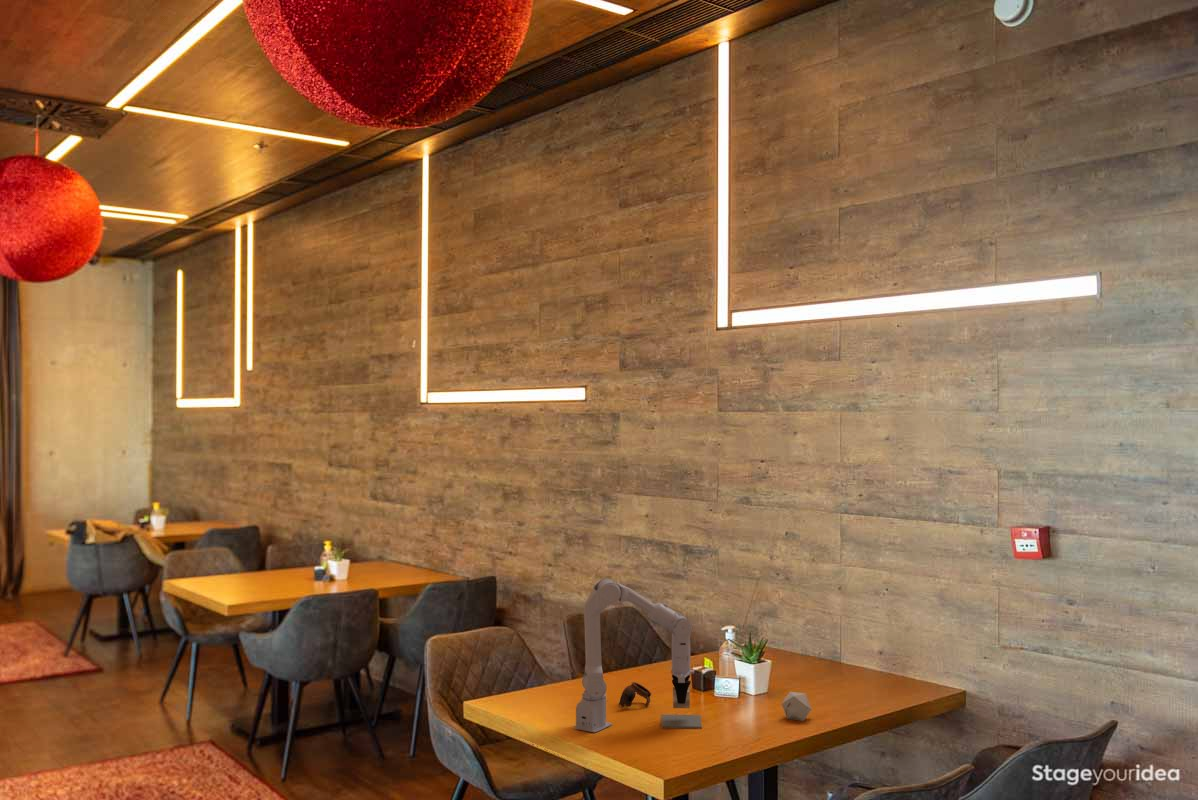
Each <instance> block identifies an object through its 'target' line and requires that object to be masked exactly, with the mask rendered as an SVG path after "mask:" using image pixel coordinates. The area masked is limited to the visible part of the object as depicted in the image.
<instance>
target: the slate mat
mask: <svg viewBox="0 0 1198 800" xmlns="http://www.w3.org/2000/svg"><path fill="white" fill-rule="evenodd" d="M702 728H703V726H702V718H701V715H700V714H661V729H687V730H688V729H690V730H691V729H694V730H695V729H698V730H699V729H701V730H702Z"/></svg>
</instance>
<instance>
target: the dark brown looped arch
mask: <svg viewBox="0 0 1198 800" xmlns="http://www.w3.org/2000/svg"><path fill="white" fill-rule="evenodd" d="M636 695H638V696H640V697H642V698H644V699H645V700H646V703H645V707H646V708H648V707H649V706H650V703H651V695H652V692H651V691H650V690H649V689H647V688H646V686H643V685H642V684H640V683H638V682H635V681H633V682H631V684H630V685H627V686H626V687H624V689H623V690H622V693H621V695H620V699H619V702H618V703H619V706H620V707H621V708H624V707H631V706H632V704H633V701H634V699H635V698H636Z"/></svg>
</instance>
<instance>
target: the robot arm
mask: <svg viewBox="0 0 1198 800" xmlns="http://www.w3.org/2000/svg"><path fill="white" fill-rule="evenodd" d="M618 601H619V602H620V603H623V602H625V603H626V602H629V603H631V604H632V605H635V606H636V607H638V608H640V609H642V610H643V611H645V612H646V613H648V614H649V619H650V620H652V621H653V622H654V623H657V624H658V625H660V626H662V627H663V628H664V629H666V630H670V631H671V670H670V673H671V678H672V680H671V682H672V685H673V687H675V691H676V696H677V701H678V704H685V701H686V695H687V690H688V687H689V688H690V685H691V680H690V677H691V675H692V674H695V670H694V669H691V636H690V635H691V634H692V633H693V629H694V628H693V627H692V623H691V621H690V620H689V619H687V618H686V617H685V616H683V614H681V613H680V612H679V611H675V610H673V609H672V608H670V607H668V606H669V605H668V604H667V603H665V602H663V603H662V602H658V603H653V602H651V601H650V600H648V599H647V598H646V597H644V596H642V595H641V594H639V593H637V592H636V591H634V590H633V589H632V588H630V587H628V586H626V585H624V584H621V583H619V582H615V581H614V580H612V579H611V578H602V579H601V580H599V581H597V583H595V585H593V588H592V590H591V592H590V594H589V595H588V598H587V599H586V601H585V603H584V605H583V618H584V619H583V621H584V623H583V624H584V649H585V651H584V652H585V665H584V675H583V676H582V679H581V684H582V687H583V689H584V691H583V693H582V694H581V695H582V696H581V700H580V701H579V702H578V703H577V704H576V707H575V726H573V729H575V730H579V731H585V732H590V733H598V732H600V731H603V730H604V729H606V728H608V727H610V726H612V725H613V723H612V722H607V694H606V693H607V684H606V682H605V680H604V672H603V667H602V665H603V664H602V639H601V613H602V612H603V611H604V610H605V609H606V608H608V607H609V606H611V605H613V604H616V603H618Z"/></svg>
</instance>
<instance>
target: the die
mask: <svg viewBox="0 0 1198 800" xmlns="http://www.w3.org/2000/svg"><path fill="white" fill-rule="evenodd" d="M781 706H782V709H783V711H784V714H785V717H786V719H787V720H791V721H792V720H793V721H798V722H799V721H800V722H804V721H805V720H806V719H807V716H808V715H809V714H810V712H811V711H812V710H813V708H812V707H811V704H810V702H809V699H808V696H807V693H803V692H795V691H794V692H793V691H789V692H788V694H787V695H786V696H785V698H784V699H783V701H782V702H781Z"/></svg>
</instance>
